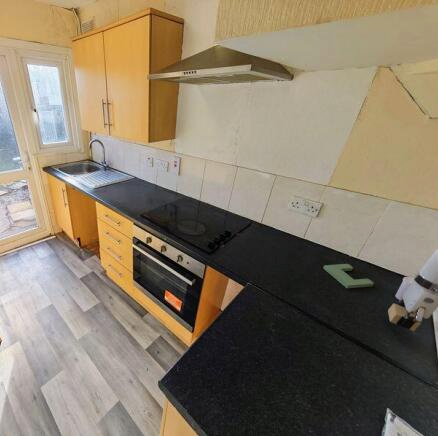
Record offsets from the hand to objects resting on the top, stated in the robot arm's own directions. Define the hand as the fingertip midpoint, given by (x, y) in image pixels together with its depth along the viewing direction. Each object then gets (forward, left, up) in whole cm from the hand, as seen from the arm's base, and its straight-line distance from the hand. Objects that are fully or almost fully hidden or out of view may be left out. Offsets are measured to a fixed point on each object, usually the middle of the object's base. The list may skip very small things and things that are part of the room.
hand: (401, 319), depth 81 cm
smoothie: (-17, -11, -5) cm, 21 cm away
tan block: (0, 0, -1) cm, 1 cm away
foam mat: (-5, -25, -4) cm, 26 cm away
